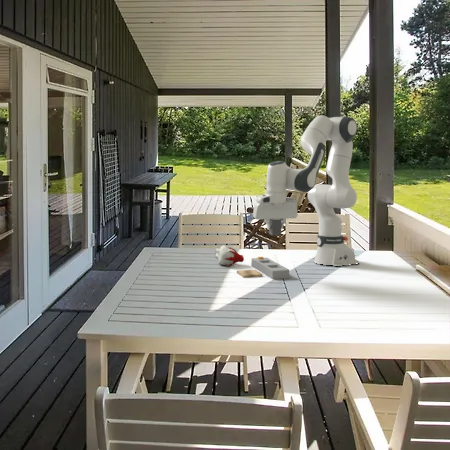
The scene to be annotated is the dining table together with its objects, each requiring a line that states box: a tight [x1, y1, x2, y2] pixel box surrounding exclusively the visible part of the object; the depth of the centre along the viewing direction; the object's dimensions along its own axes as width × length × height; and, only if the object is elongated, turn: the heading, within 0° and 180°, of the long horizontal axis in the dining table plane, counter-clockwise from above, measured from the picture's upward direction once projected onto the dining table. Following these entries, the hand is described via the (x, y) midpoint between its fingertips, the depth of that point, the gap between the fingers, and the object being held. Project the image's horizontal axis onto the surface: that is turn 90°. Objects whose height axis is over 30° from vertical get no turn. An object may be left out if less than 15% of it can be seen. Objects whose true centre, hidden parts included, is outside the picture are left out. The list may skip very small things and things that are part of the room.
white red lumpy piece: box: [214, 244, 245, 267], centre depth 263 cm, size 9×11×15 cm
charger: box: [268, 219, 282, 236], centre depth 242 cm, size 4×4×7 cm
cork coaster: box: [236, 269, 263, 278], centre depth 244 cm, size 9×9×1 cm
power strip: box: [251, 256, 290, 280], centre depth 253 cm, size 8×32×4 cm, turn 18°
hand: (275, 228), depth 243 cm, fingers closed on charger, 4 cm apart
